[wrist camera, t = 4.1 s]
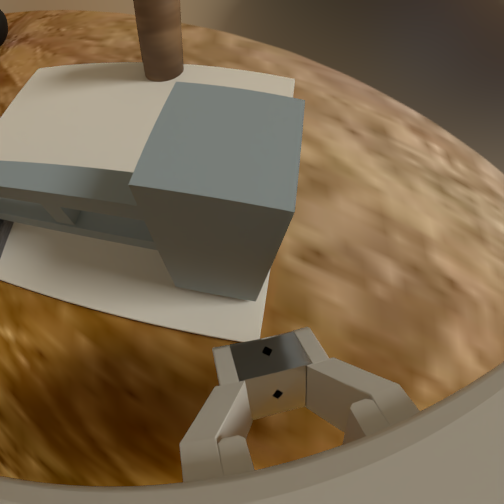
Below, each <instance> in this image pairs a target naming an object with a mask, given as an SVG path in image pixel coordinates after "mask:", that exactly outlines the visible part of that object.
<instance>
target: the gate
mask: <svg viewBox="0 0 504 504" xmlns="http://www.w3.org/2000/svg"><path fill="white" fill-rule="evenodd" d="M304 106H305V100H301V99H296V98H292V97H287V96H281V95H276V94H271V93H265V92H259V91H253V90H247V89H240V88H233V87H225V86H217V85H208V84H198V83H187V82H176V83H175V85H174V87H173V88H172V90H171V92H170V94H169V96H168V98H167V100H166V102H165V104H164V106H163V108H162V110H161V112H160V114H159V116H158V118H157V120H156V122H155V125H154V127H153V129H152V131H151V133H150V135H149V137H148V140H147V142H146V144H145V146H144V149H143V151H142V153H141V155H140V158H139V160H138V162H137V165H136V167H135V170H134V172H126V171H117V170H108V169H99V168H90V167H80V166H69V165H58V164H46V163H33V162H17V161H0V219H3V220H8V221H12V222H17V223H22V224H27V225H32V226H36V227H41V228H46V229H51V230H56V231H61V232H66V233H71V234H76V235H81V236H86V237H91V238H96V239H101V240H106V241H111V242H116V243H121V244H127V245H132V246H137V247H142V248H147V249H153V250H158V252H159V254H160V256H161V258H162V260H163V262H164V264H165V266H166V268H167V270H168V272H169V274H170V276H171V278H172V280H173V282H174V284H175V286H176V287H180V288H185V289H190V290H195V291H200V292H205V293H211V294H216V295H221V296H227V297H232V298H238V299H244V300H249V301H255V302H256V300H257V298H258V295H259V293H260V291H261V289H262V286H263V284H264V282H265V279H266V277H267V275H268V273H269V270H270V268H271V266H272V263H273V261H274V259H275V256H276V254H277V252H278V249H279V247H280V245H281V243H282V240H283V238H284V236H285V233H286V231H287V229H288V226H289V224H290V221H291V219H292V217H293V214H294V212H295V203H296V193H297V183H298V173H299V163H300V152H301V141H302V130H303V118H304Z"/></svg>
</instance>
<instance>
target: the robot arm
mask: <svg viewBox="0 0 504 504" xmlns="http://www.w3.org/2000/svg"><path fill="white" fill-rule="evenodd" d="M213 356H214V361H215V366H216V371H217V376H218V381H219V385H220V386H216V387H214V389H213V390H212V392H211V394H210V395H209V397H208V399H207V400H206V402H205V404H204V405H203V407H202V408H201V410H200V412H199V413H198V415H197V417H196V418H195V420H194V421H193V423H192V425H191V426H190V428H189V430H188V431H187V433H186V434H185V436H184V438H183V439H182V441H181V442H180V454H181V464H182V474H183V482H182V483H173V484H161V485H147V486H115V487H107V486H76V485H62V484H51V483H42V482H34V481H27V480H20V479H14V478H9V477H3V476H0V504H504V362H502V363H501V364H499V365H498V366H496V367H495V368H493V369H492V370H490V371H489V372H487V373H486V374H484V375H483V376H481V377H480V378H478V379H477V380H475V381H473V382H472V383H470V384H469V385H467V386H465V387H464V388H462V389H460V390H459V391H457V392H455V393H454V394H452V395H450V396H448V397H446V398H445V399H443V400H441V401H439V402H437V403H436V404H434V405H432V406H430V407H428V408H426V409H424V410H422V411H419V410H418V408H417V407H416V406H415V404H414V403H413V402H412V401H411V399H410V398H409V397H408V395H407V394H406V393H405V392H404V390H403V389H402V388H401V386H400V385H399V384H397V383H394V382H392V381H389V380H387V379H384V378H382V377H379V376H377V375H374V374H372V373H369V372H367V371H365V370H362V369H360V368H357V367H355V366H353V365H350V364H348V363H345V362H343V361H341V360H338V359H336V358H331V359H329V357H328V356H327V354H326V353H325V351H324V349H323V348H322V346H321V345H320V343H319V342H318V340H317V339H316V337H315V335H314V334H313V332H312V331H311V329H310V328H309V327H305V328H301V329H298V330H294V331H292V332H287V333H283V334H279V335H275V336H271V337H266V338H262V339H257V340H252V341H246V342H241V343H236V344H230V346H229V345H226V346H220V347H215V348H213ZM305 406H306V408H308V409H309V410H311V411H312V412H314V413H315V414H317V415H318V416H320V417H321V418H323V419H324V420H326V421H327V422H329V423H330V424H332V425H334V426H335V427H337V428H338V429H340V430H341V431H343V432H345V435H344V440H343V444H342V445H341V446H338V447H336V448H333V449H330V450H327V451H324V452H321V453H318V454H314V455H311V456H308V457H305V458H301V459H298V460H294V461H291V462H287V463H283V464H280V465H276V466H272V467H268V468H263V469H259V470H254V467H253V463H252V460H251V457H250V453H249V450H248V446H247V443H246V437H247V435H248V432H249V429H250V427H251V424H252V420H254V419H258V418H262V417H266V416H270V415H273V414H277V413H281V412H285V411H289V410H293V409H297V408H301V407H305Z"/></svg>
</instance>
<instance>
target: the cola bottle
mask: <svg viewBox="0 0 504 504" xmlns="http://www.w3.org/2000/svg"><path fill="white" fill-rule="evenodd" d="M7 34H8V24H7V19H6V17H5V15H4V13H3V12H2V11H1V10H0V45H1V44H2V43H3V42H4V40H5V39H6V37H7Z"/></svg>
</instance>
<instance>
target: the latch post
mask: <svg viewBox="0 0 504 504" xmlns="http://www.w3.org/2000/svg"><path fill="white" fill-rule="evenodd" d="M133 1H134V8H135V16H136V23H137V30H138V36H139V42H140V49H141V55H142V61H143V66H144V72H145V76H146V78H147V79H149V80H151V81H154V82H164V81H169V80H172V79H174V78H176V77H178V76H179V75H181V73H182V72H183V70H184V65H183V49H182V32H181V12H180V0H133Z"/></svg>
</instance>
